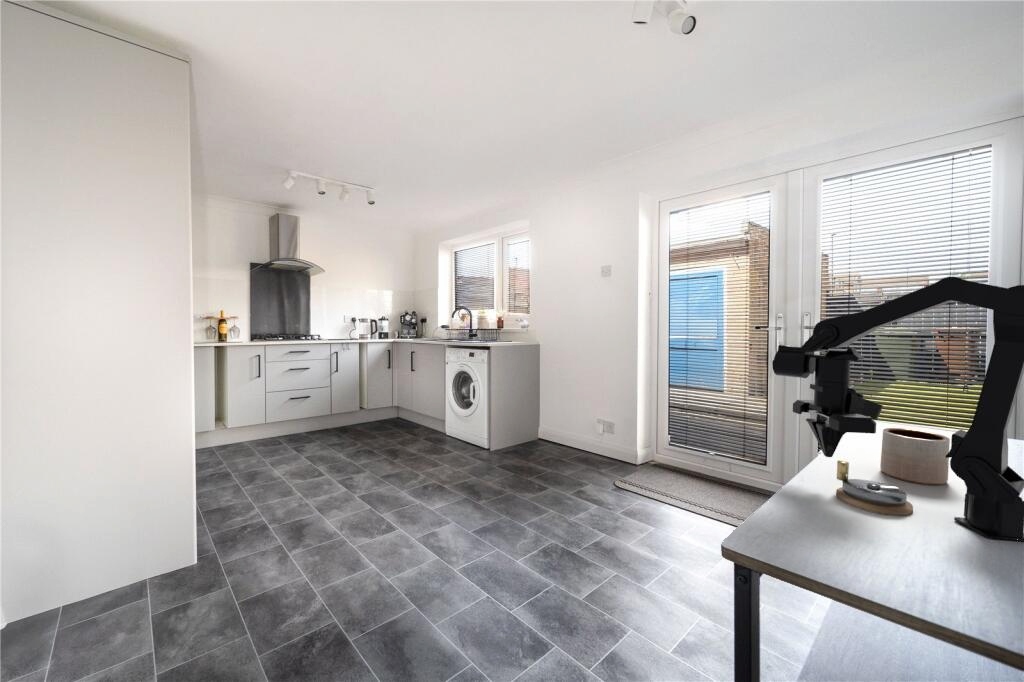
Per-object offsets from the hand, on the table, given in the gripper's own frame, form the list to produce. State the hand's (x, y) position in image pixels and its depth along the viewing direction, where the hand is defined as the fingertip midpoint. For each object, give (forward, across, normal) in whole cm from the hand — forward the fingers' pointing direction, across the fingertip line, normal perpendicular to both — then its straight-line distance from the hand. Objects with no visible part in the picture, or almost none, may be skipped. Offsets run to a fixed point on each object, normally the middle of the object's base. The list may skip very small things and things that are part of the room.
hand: (828, 456), depth 88 cm
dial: (+5, -7, -4) cm, 10 cm away
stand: (+6, -7, -4) cm, 10 cm away
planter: (+6, +10, -22) cm, 25 cm away
